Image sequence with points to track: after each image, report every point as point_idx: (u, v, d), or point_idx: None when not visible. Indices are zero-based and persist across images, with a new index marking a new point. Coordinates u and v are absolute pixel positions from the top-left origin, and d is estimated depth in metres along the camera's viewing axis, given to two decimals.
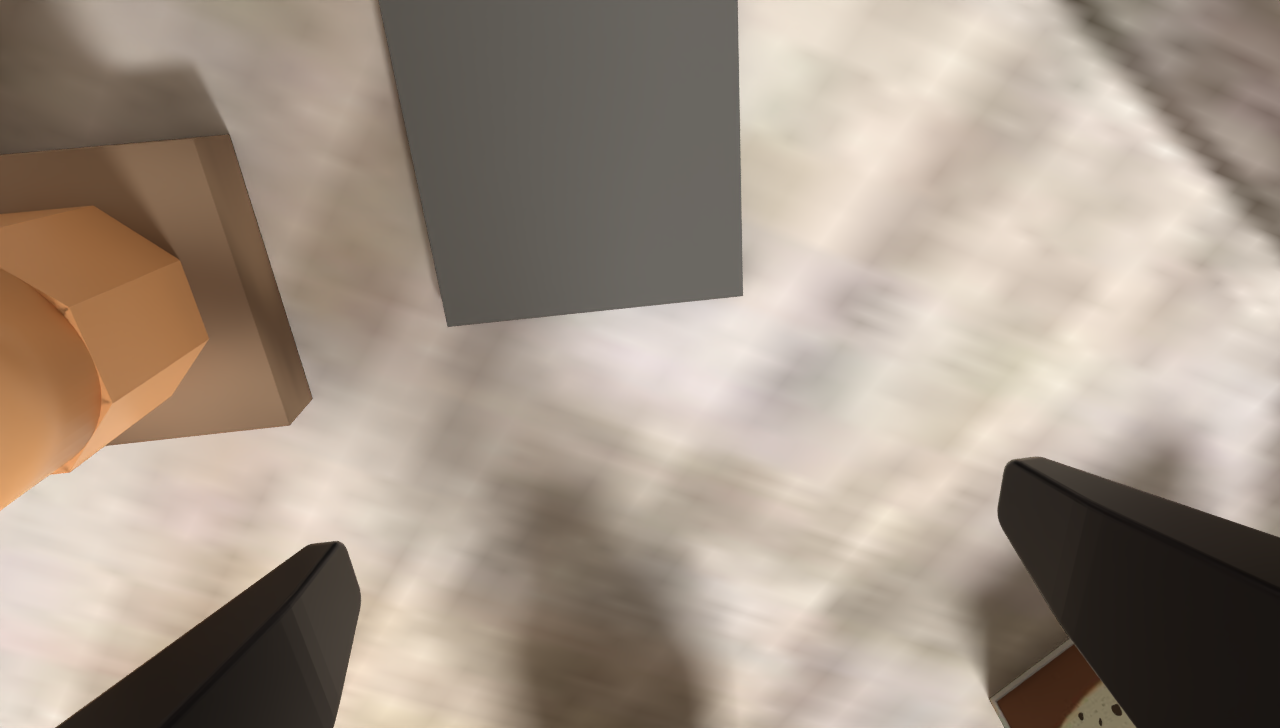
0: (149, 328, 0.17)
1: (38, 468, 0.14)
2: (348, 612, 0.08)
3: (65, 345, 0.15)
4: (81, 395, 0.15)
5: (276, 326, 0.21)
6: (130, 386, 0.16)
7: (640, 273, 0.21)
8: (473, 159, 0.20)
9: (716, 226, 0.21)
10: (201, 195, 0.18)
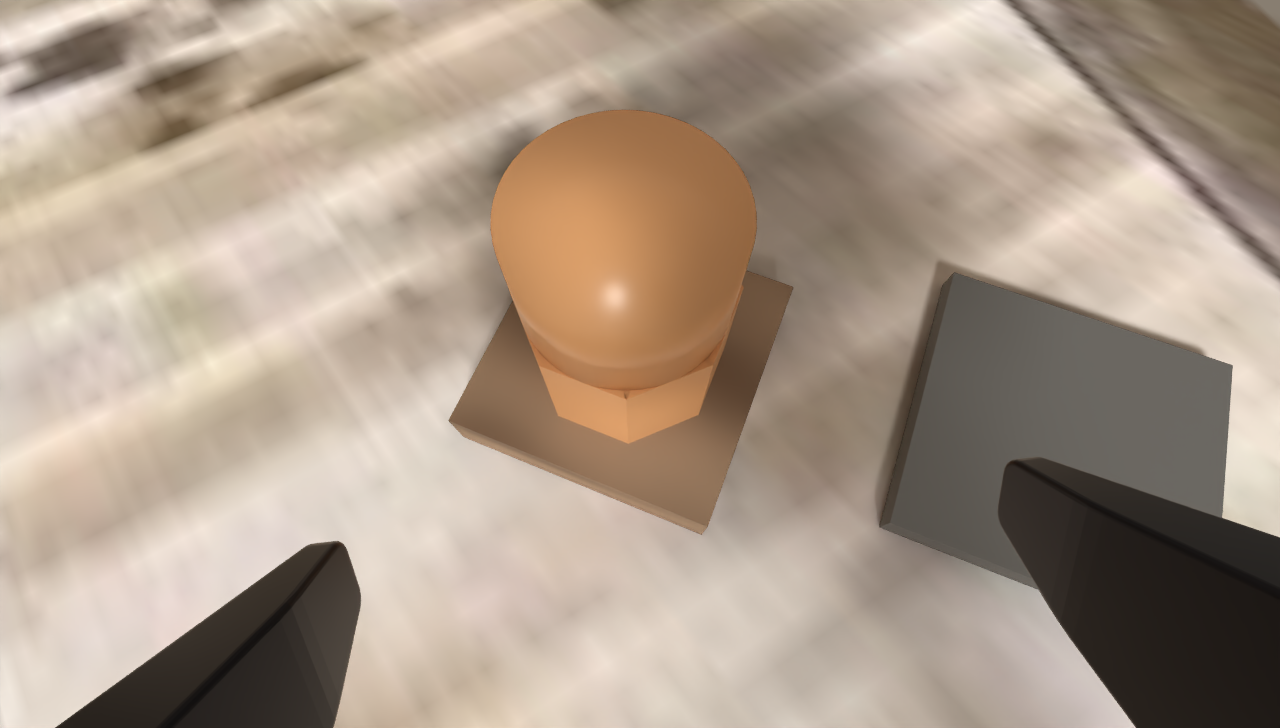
0: (718, 358, 0.19)
1: (686, 349, 0.15)
2: (348, 612, 0.08)
3: None
4: (719, 336, 0.17)
5: None
6: (711, 371, 0.18)
7: None
8: (977, 401, 0.22)
9: None
10: (772, 319, 0.22)
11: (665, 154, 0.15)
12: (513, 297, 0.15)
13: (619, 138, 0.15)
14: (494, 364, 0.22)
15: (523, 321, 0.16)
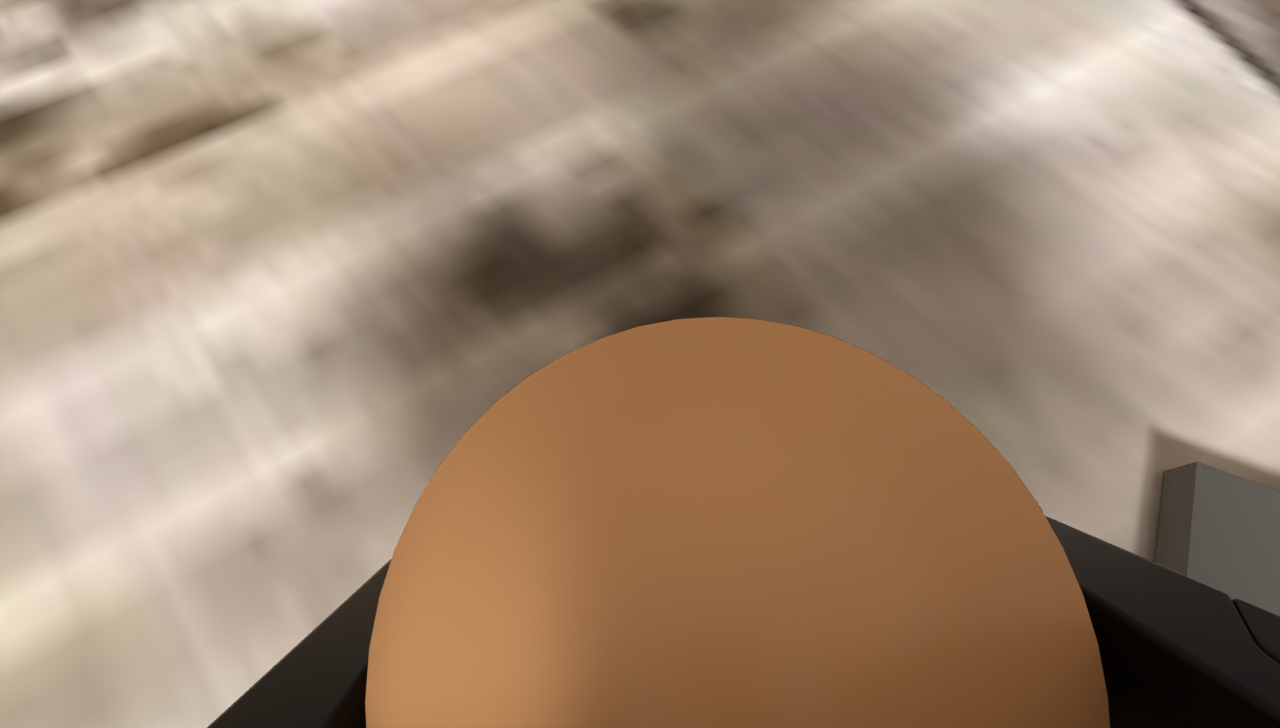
0: None
1: None
2: None
3: None
4: None
5: None
6: None
7: None
8: None
9: None
10: None
11: (830, 450, 0.06)
12: None
13: (710, 400, 0.06)
14: None
15: None
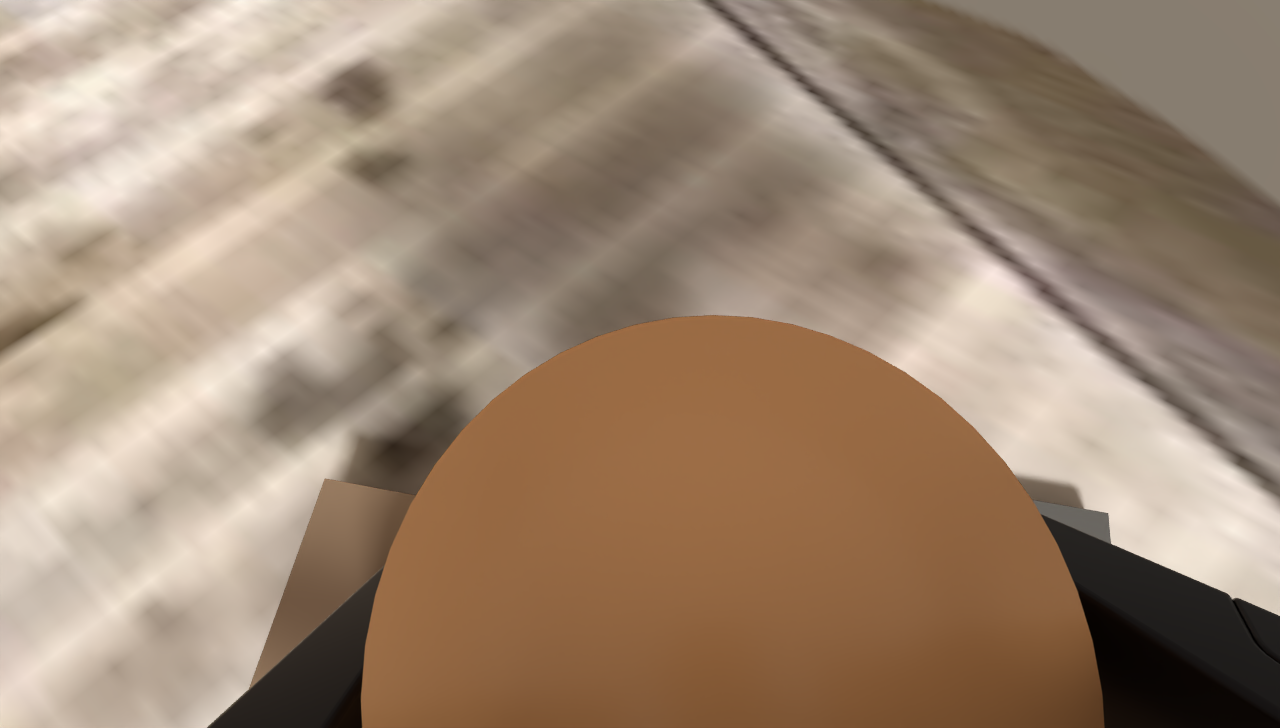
0: None
1: None
2: None
3: None
4: None
5: None
6: None
7: None
8: None
9: None
10: None
11: (826, 447, 0.06)
12: None
13: (706, 398, 0.06)
14: None
15: None
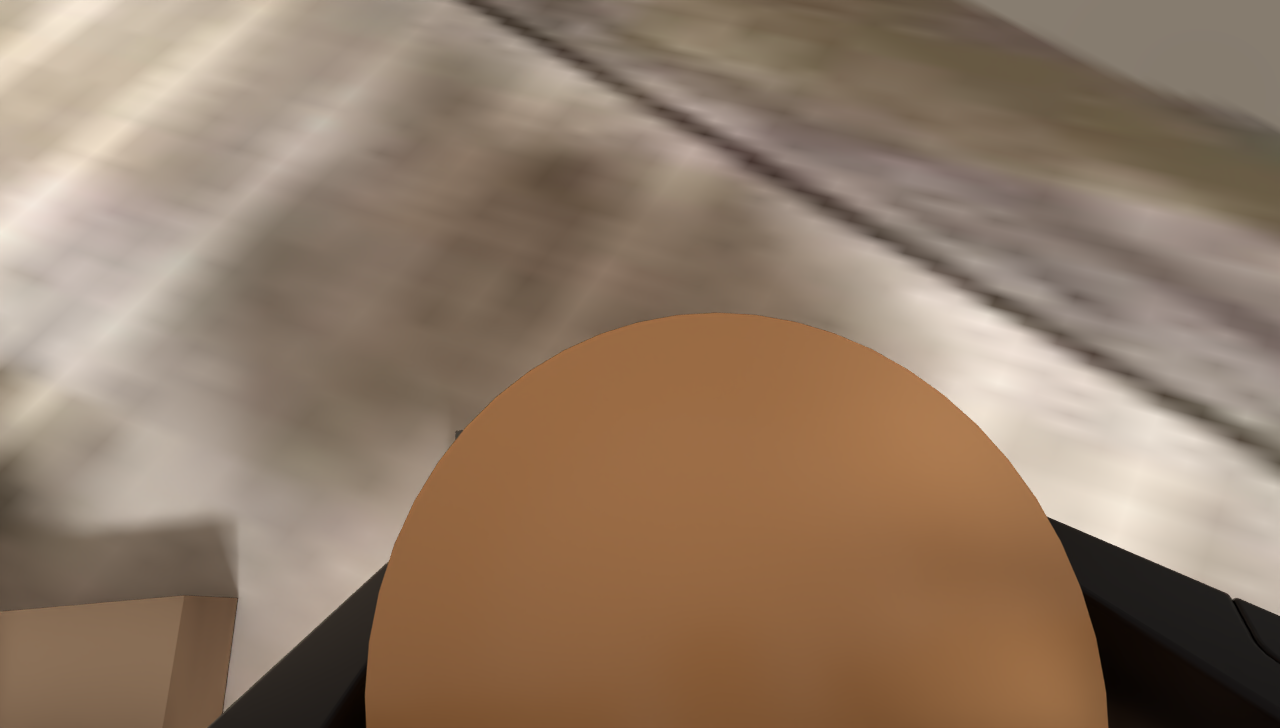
0: None
1: None
2: None
3: None
4: None
5: None
6: None
7: None
8: None
9: None
10: (157, 673, 0.13)
11: (829, 444, 0.06)
12: None
13: (709, 395, 0.06)
14: None
15: None
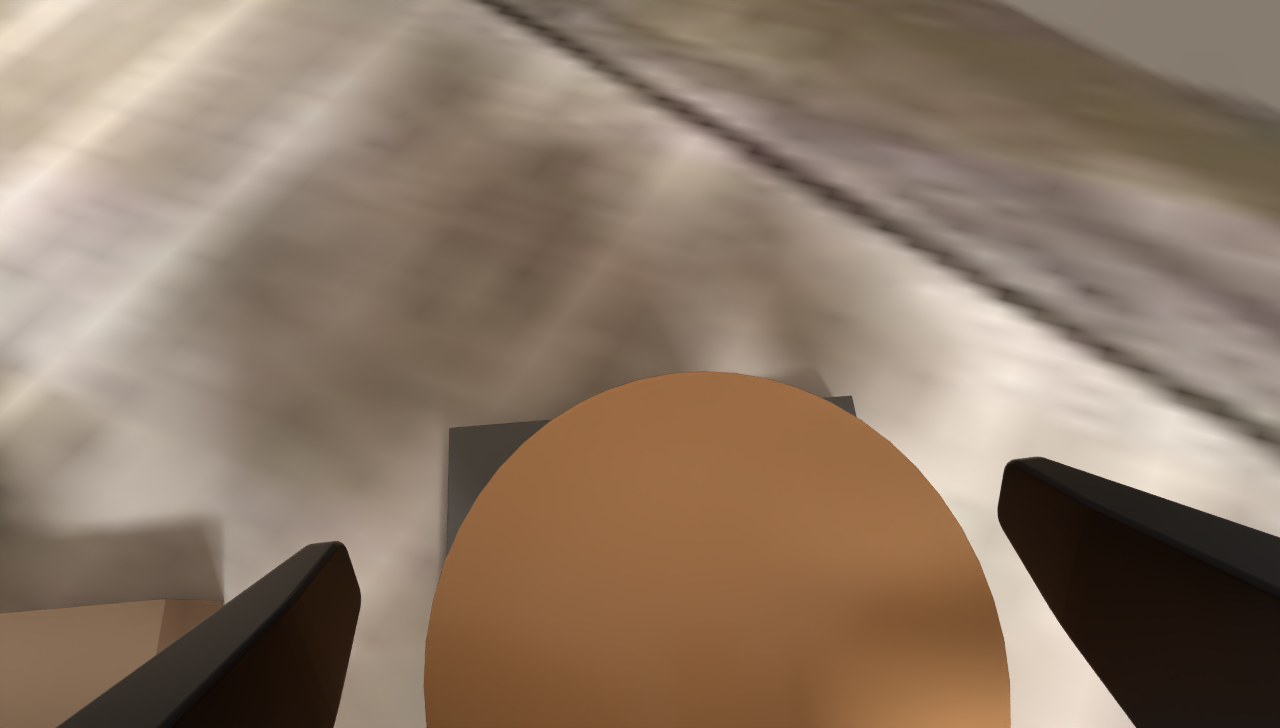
0: None
1: None
2: (348, 612, 0.08)
3: None
4: None
5: None
6: None
7: None
8: None
9: None
10: None
11: (794, 482, 0.07)
12: None
13: (697, 441, 0.07)
14: None
15: None
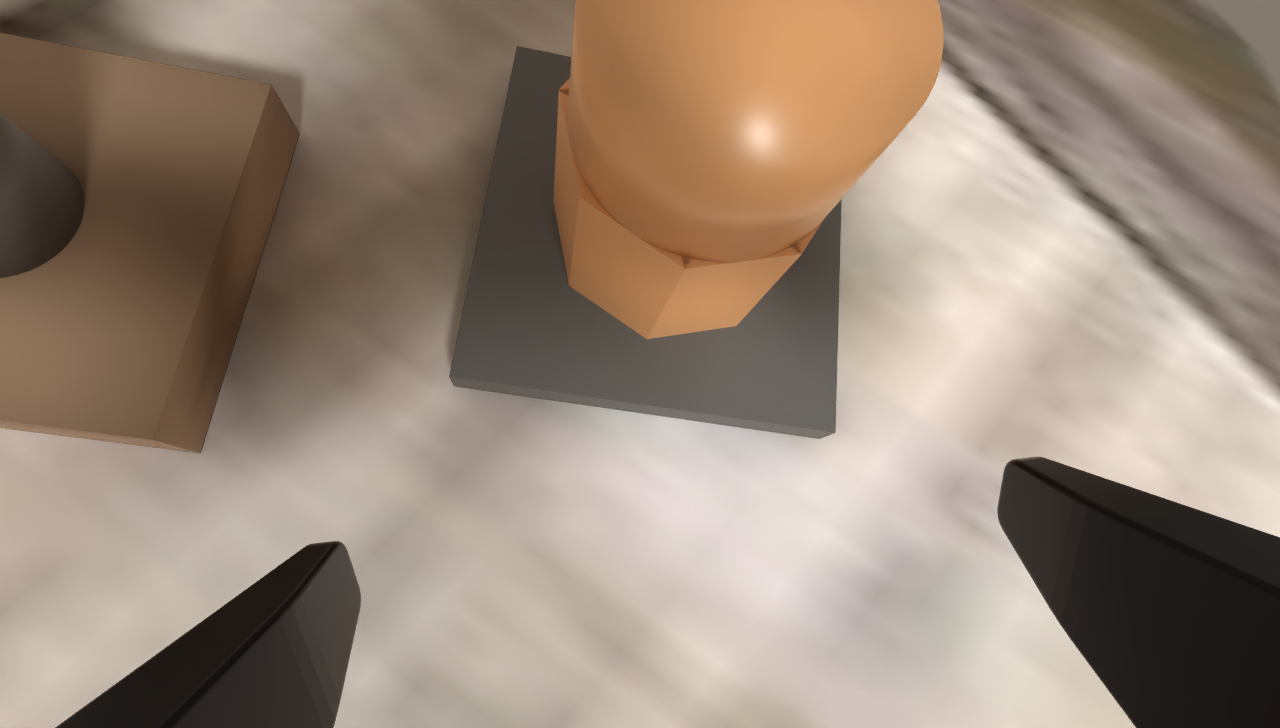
0: None
1: (794, 212, 0.11)
2: (348, 612, 0.08)
3: None
4: (822, 218, 0.13)
5: (222, 321, 0.15)
6: None
7: (712, 371, 0.17)
8: None
9: (808, 340, 0.18)
10: (241, 133, 0.16)
11: None
12: (581, 78, 0.11)
13: None
14: None
15: (579, 126, 0.12)
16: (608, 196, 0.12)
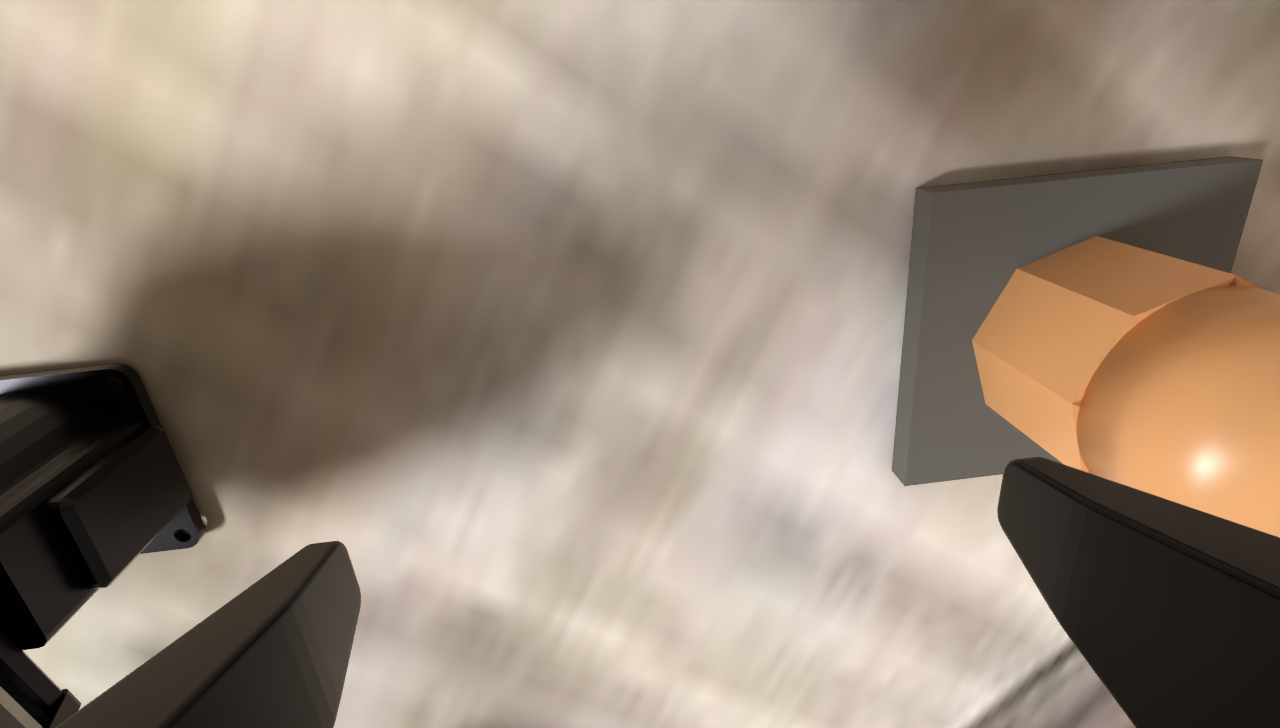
0: None
1: None
2: (348, 612, 0.08)
3: None
4: None
5: None
6: None
7: (947, 394, 0.21)
8: None
9: (975, 457, 0.22)
10: None
11: None
12: (1263, 336, 0.13)
13: None
14: None
15: (1209, 321, 0.14)
16: (1139, 345, 0.15)
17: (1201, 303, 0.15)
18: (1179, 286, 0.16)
